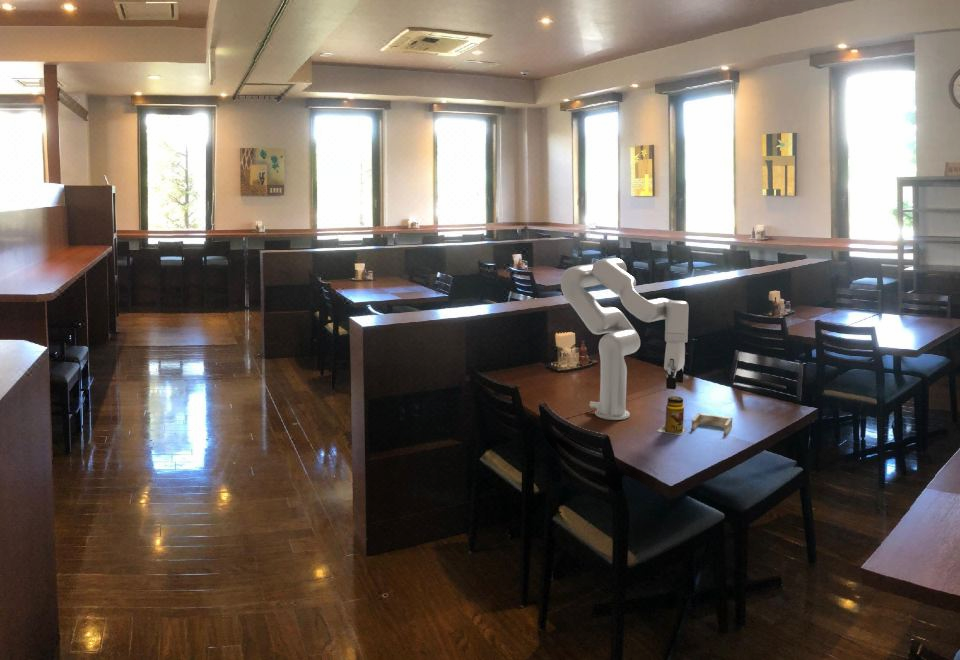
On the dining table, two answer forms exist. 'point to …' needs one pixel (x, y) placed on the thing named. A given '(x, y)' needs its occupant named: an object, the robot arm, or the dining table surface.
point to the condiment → (674, 416)
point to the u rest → (712, 421)
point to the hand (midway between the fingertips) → (674, 385)
